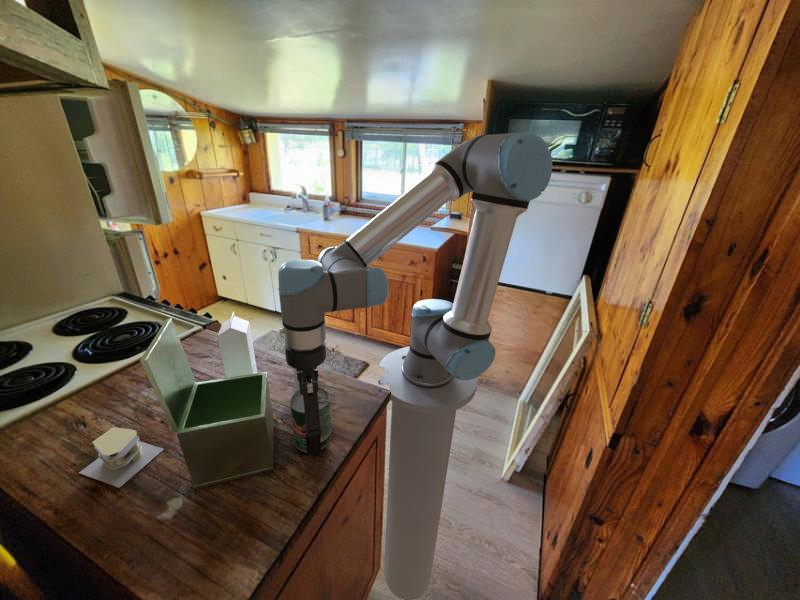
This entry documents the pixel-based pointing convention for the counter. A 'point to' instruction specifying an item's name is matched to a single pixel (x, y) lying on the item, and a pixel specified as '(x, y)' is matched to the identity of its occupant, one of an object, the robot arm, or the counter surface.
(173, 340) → the lid
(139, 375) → the counter surface
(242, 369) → the milk
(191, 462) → the bin
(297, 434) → the canned tomato
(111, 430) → the stacked layers on plate
